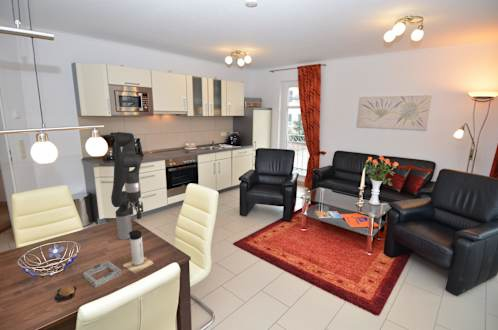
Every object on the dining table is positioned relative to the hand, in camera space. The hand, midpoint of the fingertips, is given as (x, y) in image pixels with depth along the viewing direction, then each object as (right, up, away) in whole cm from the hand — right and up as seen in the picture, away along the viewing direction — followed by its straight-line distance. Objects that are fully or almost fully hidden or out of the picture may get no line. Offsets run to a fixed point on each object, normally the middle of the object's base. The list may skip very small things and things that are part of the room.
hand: (135, 216), depth 146 cm
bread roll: (-25, -35, -21) cm, 47 cm away
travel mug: (0, -28, +3) cm, 28 cm away
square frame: (-14, -31, -7) cm, 35 cm away
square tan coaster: (0, -29, +3) cm, 29 cm away
